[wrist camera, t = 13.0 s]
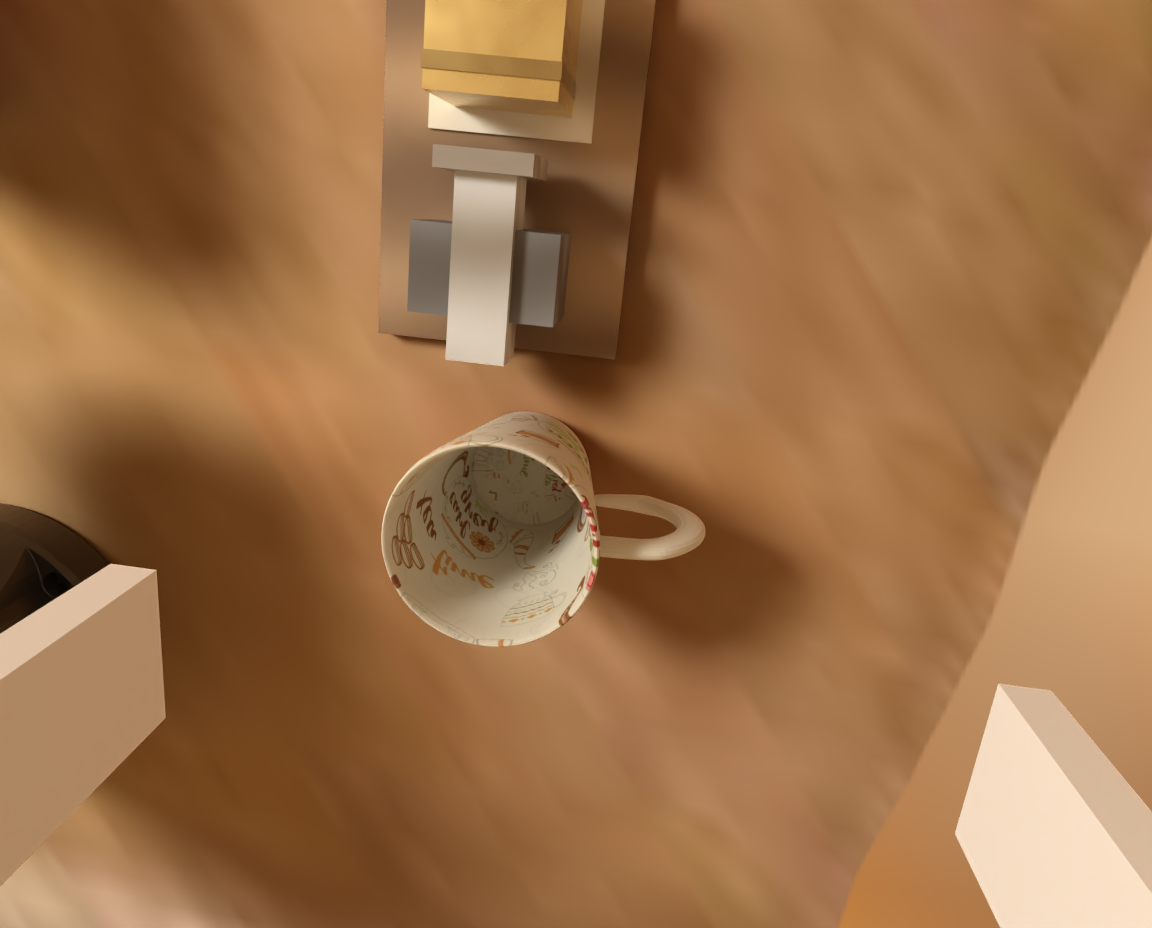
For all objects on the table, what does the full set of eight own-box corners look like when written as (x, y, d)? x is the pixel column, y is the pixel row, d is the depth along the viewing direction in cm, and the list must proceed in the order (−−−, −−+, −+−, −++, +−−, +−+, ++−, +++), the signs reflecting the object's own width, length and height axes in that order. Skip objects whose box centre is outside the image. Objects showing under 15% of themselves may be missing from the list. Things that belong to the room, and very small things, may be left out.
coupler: (461, -57, 33) (427, -104, 28) (588, -45, 32) (575, -92, 27) (453, 106, 34) (419, 87, 29) (573, 117, 34) (558, 101, 29)
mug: (446, 380, 39) (378, 432, 30) (710, 401, 38) (727, 462, 29) (444, 540, 42) (381, 636, 32) (691, 564, 41) (702, 670, 31)
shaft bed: (615, 356, 38) (608, 381, 32) (385, 329, 39) (336, 350, 33) (694, -340, 30) (702, -475, 24) (404, -356, 31) (344, -492, 25)
